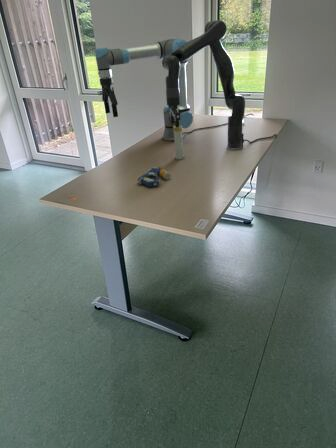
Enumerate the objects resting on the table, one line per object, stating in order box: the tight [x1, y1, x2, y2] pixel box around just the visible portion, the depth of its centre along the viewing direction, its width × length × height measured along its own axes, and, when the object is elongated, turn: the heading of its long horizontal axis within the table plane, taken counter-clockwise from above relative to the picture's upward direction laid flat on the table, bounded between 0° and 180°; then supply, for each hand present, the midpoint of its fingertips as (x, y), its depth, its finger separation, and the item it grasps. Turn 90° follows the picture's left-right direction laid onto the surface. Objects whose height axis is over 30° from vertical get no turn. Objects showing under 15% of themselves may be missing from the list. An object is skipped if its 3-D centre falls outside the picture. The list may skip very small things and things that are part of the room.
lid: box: [173, 125, 183, 132], centre depth 202 cm, size 5×5×2 cm
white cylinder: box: [174, 130, 184, 160], centre depth 206 cm, size 5×5×20 cm
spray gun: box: [137, 166, 171, 188], centre depth 184 cm, size 21×4×15 cm
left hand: (111, 114), depth 206 cm, fingers open, 13 cm apart
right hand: (175, 125), depth 192 cm, fingers open, 8 cm apart
